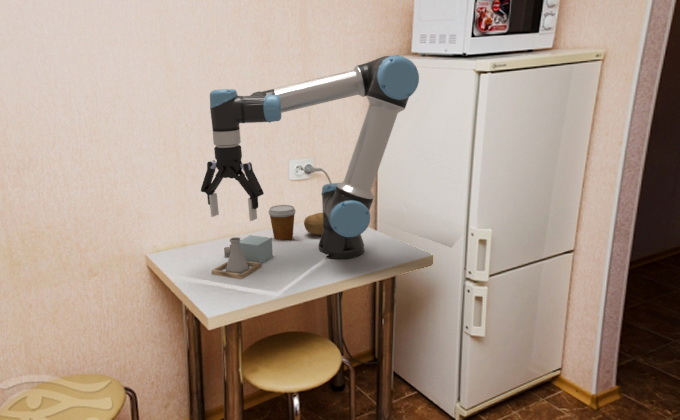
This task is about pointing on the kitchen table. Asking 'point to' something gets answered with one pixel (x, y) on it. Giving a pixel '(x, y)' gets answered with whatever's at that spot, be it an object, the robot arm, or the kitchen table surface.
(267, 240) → the pale blue block
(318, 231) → the potato
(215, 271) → the board
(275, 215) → the disposable coffee cup
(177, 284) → the kitchen table surface
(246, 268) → the flask
